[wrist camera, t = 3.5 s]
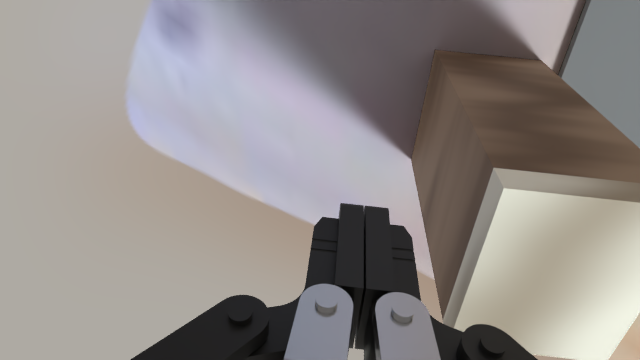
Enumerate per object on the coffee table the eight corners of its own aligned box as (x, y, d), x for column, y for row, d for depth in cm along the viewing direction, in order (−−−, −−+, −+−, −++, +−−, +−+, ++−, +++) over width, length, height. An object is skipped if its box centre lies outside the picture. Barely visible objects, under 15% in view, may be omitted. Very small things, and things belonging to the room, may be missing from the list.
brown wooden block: (541, 60, 21) (708, 209, 11) (503, 169, 24) (605, 363, 14) (434, 49, 21) (503, 188, 11) (411, 159, 24) (447, 344, 14)
